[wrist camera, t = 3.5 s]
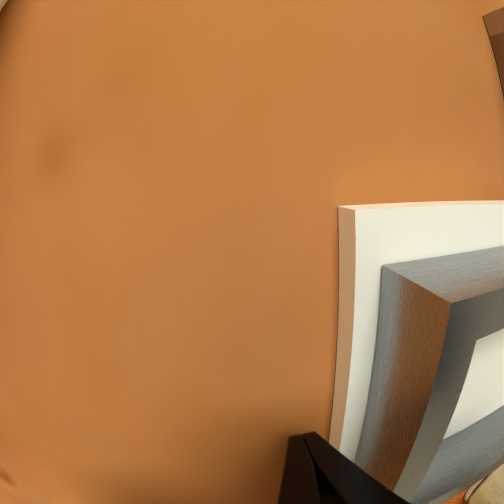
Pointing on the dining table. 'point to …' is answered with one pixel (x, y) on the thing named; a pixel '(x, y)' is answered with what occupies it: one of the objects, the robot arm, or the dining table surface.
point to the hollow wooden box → (497, 38)
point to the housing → (432, 376)
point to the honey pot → (2, 3)
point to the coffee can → (488, 489)
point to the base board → (369, 294)
